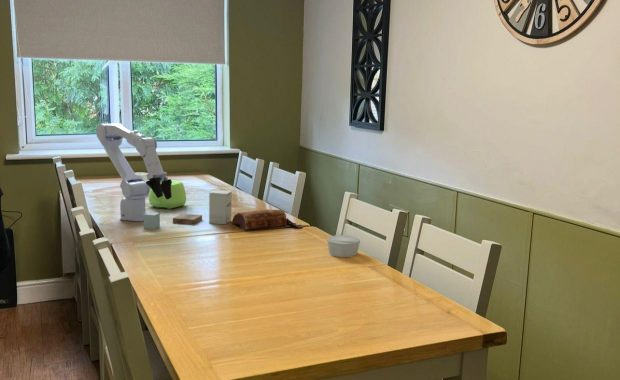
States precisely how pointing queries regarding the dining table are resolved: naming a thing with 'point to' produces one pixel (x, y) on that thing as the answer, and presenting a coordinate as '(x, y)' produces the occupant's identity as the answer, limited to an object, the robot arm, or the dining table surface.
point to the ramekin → (343, 245)
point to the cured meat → (261, 219)
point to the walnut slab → (187, 219)
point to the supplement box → (220, 207)
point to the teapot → (175, 201)
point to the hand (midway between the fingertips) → (164, 197)
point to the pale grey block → (151, 220)
